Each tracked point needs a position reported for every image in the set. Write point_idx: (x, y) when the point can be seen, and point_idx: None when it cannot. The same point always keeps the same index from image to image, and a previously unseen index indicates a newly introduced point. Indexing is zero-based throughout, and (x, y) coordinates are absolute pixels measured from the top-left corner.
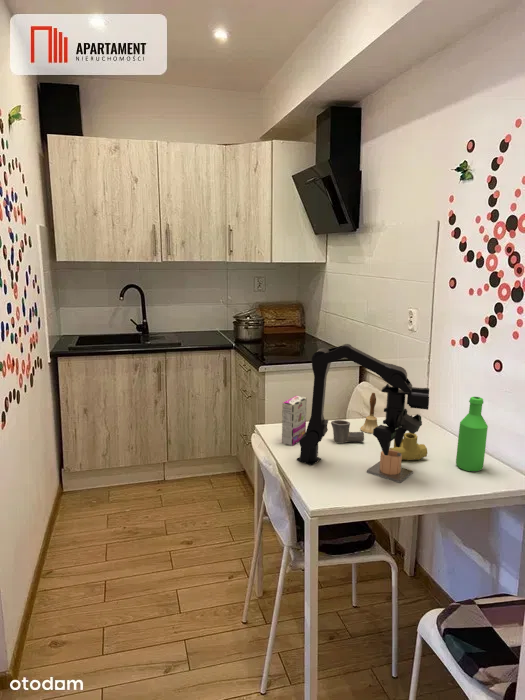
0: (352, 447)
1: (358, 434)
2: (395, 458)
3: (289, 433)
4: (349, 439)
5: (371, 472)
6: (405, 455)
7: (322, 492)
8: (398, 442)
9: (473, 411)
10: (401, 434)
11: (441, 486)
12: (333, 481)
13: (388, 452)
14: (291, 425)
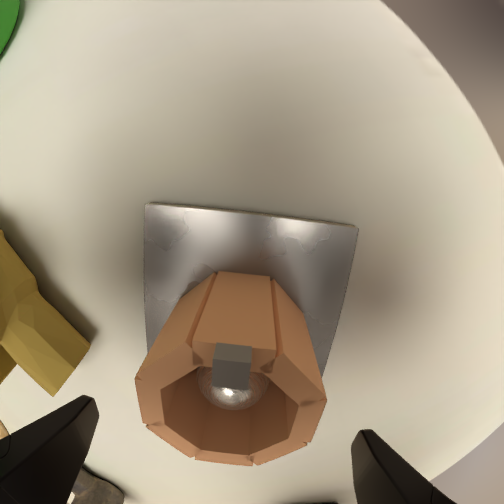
0: (110, 466)
1: None
2: (299, 364)
3: None
4: (89, 480)
5: None
6: (32, 303)
7: (496, 407)
8: (75, 437)
9: None
10: (16, 485)
11: (247, 6)
12: (432, 432)
13: (372, 447)
14: None
